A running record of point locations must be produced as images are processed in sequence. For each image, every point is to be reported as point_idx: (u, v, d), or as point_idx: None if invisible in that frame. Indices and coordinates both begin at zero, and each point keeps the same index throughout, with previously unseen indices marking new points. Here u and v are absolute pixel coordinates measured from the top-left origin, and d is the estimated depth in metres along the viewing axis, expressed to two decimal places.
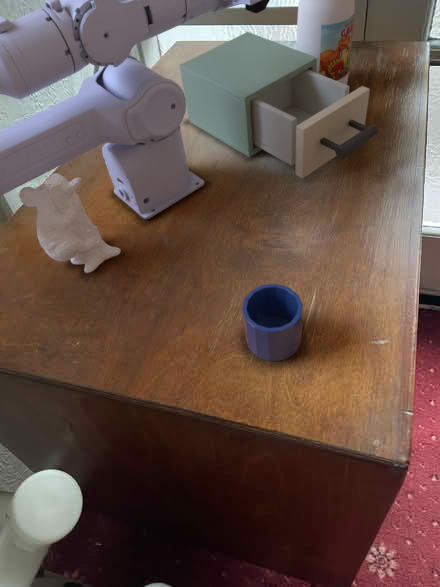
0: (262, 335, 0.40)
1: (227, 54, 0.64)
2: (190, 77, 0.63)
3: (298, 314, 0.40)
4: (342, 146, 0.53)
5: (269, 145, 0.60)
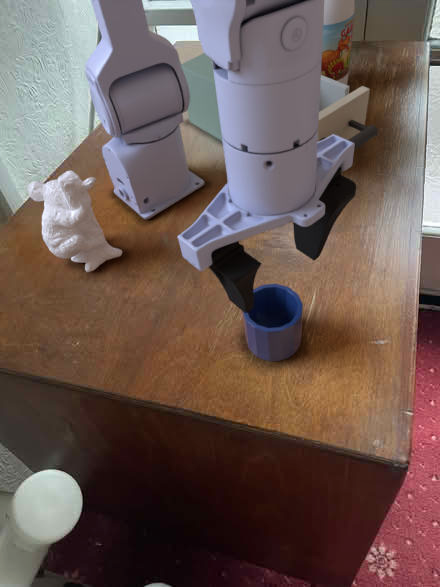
0: (262, 335, 0.40)
1: None
2: (190, 77, 0.63)
3: (298, 314, 0.40)
4: None
5: None
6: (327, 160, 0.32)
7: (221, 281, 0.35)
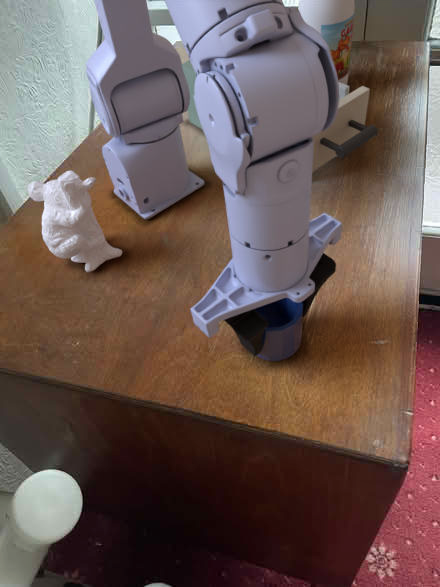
0: None
1: None
2: (190, 77, 0.63)
3: (298, 314, 0.40)
4: (342, 146, 0.53)
5: None
6: (318, 239, 0.37)
7: (234, 329, 0.41)
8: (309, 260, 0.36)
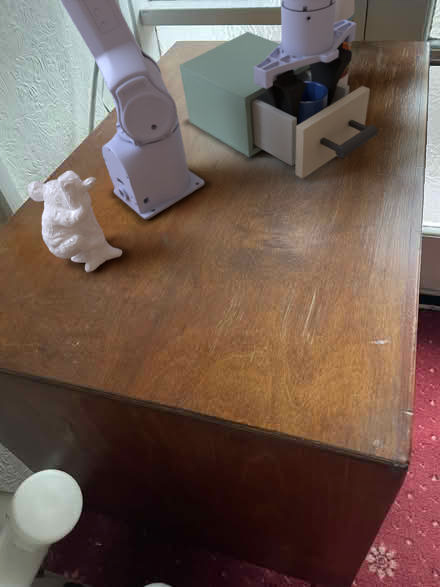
0: (299, 109, 0.56)
1: (227, 54, 0.64)
2: (190, 77, 0.63)
3: (325, 94, 0.55)
4: (342, 146, 0.53)
5: (269, 145, 0.60)
6: (340, 31, 0.53)
7: None
8: (334, 40, 0.52)
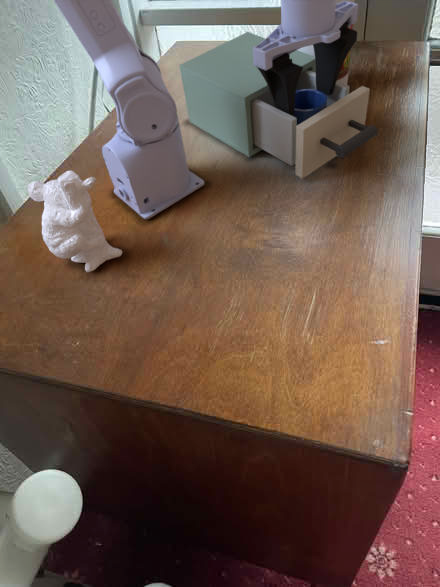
0: (299, 117, 0.56)
1: (227, 54, 0.64)
2: (190, 77, 0.63)
3: (324, 102, 0.56)
4: (342, 146, 0.53)
5: (269, 145, 0.60)
6: (341, 12, 0.52)
7: (273, 96, 0.55)
8: (335, 21, 0.50)
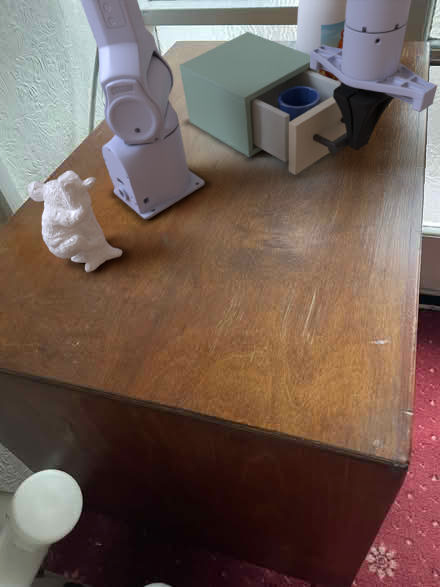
0: (292, 113, 0.57)
1: (227, 54, 0.64)
2: (190, 77, 0.63)
3: (317, 99, 0.57)
4: (334, 142, 0.54)
5: (263, 142, 0.60)
6: (340, 52, 0.50)
7: (360, 134, 0.52)
8: None
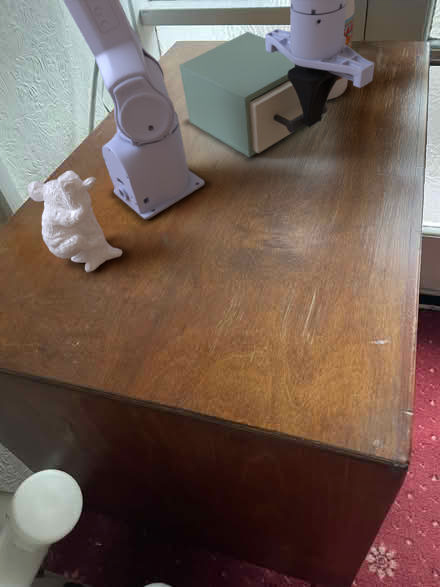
0: None
1: (227, 54, 0.64)
2: (190, 77, 0.63)
3: None
4: (292, 121, 0.57)
5: None
6: None
7: (310, 111, 0.56)
8: None
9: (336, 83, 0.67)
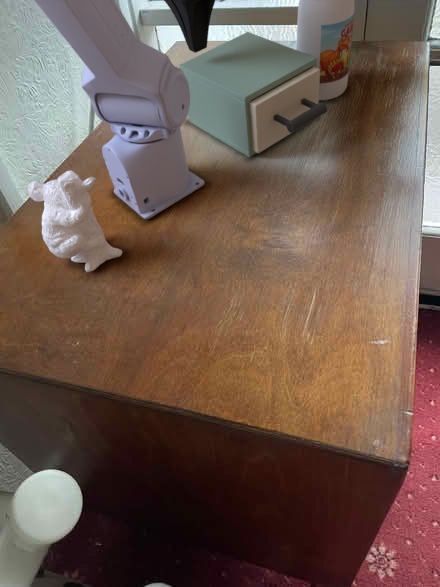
0: None
1: (227, 54, 0.64)
2: (190, 77, 0.63)
3: None
4: (292, 121, 0.57)
5: None
6: None
7: (193, 35, 0.59)
8: None
9: (336, 83, 0.67)
